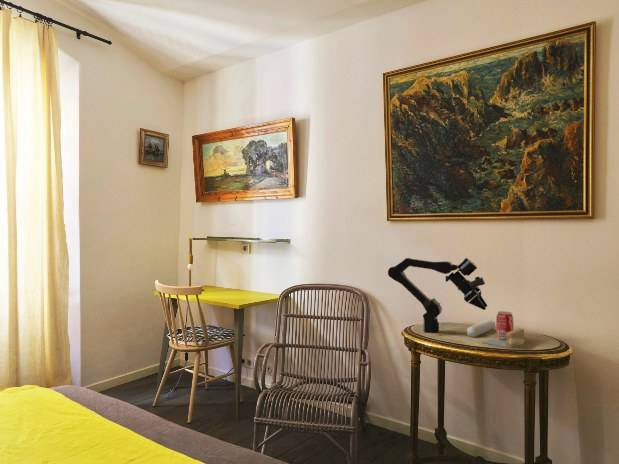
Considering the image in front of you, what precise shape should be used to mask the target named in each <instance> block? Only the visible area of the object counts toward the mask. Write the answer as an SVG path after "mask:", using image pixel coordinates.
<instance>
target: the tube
mask: <svg viewBox="0 0 619 464" xmlns="http://www.w3.org/2000/svg"><path fill="white" fill-rule="evenodd" d="M495 328H496V321H494V320H492V319H488V318H487V319H486V320H483V321H481V322H478V323H476V324H473V325H471V326H469V327H468V328H467V330H466V334H467V335H468V336H469V337H470V338H476V337H479V336H481V335H484V334H485V332H486V333H487V331H488V332H490V331H493V330H494V329H495ZM492 329H493V330H492ZM480 334H481V335H480ZM478 335H479V336H478Z"/></svg>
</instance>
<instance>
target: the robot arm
mask: <svg viewBox="0 0 619 464" xmlns="http://www.w3.org/2000/svg"><path fill="white" fill-rule="evenodd" d="M409 267H412V268H413V267H414V268H421V269H426V270H432V271H435V272H437V273H440V274H444V275H446V276H445V282H446V283H447V282H448V281H450V282H451V283H452V284H454V286H455V287H456V288H457V290H458V291H460V292H461V293H462V294H463V295H464V297H463V300H464V301H465V303H468V304H470V305H472V306H474V307H476V308H479V309H481V310H483V311H486V309H487V307H488V304H487V303H486V301H485V299H484V298H483V296H482V290H481V288H480V287H481V286H483V285H486V282H485V279H484V278H483V277H480V276H475V277H474V280H472V281H470V280H469V279H466V277H469V276H470V275H471V274H473V272H475V271H476V270H477V269H478V267H477V265H476V264H475V263H474V262H472V261H471V259H468V257H465V258H464V259H463V261H462V262H461V263H459V264H452V262H451V261H432V260H431V261H430V260H425V259H424V260H423V259H418V258H417V259H416V258H415V259H414V258H411V257H406V258H404V259H403V260H401V262H399V263H398V264H396V265H395V266H390V267H389V269H388V270H387V275H388V277H389V278H391V279H392V280H394V281H396V282H397V283H399V284H401V286H403V287H404V288H405V289H406V290H407V291H408V292H409V293H410V294H411V295H413V297H414V298H416V300H417V301H418V302H420V303H421V305H422V307H423V308H424V310H425V313H424V314H422V318H423V329H422V330H423V333H435V334H436V333H437V334H438V333H439V330H440V326H439V325H440V322H439V321H438V320H439V319H438V317H439V315H441V313H442V311H443V309H442V308H443V307H442V306H441V303H440V302H439V301H437V300H436V299H437V298H436V299H435V298H434V297H433V298H432V299H431V298H429V297H428V296H427V295H426V294H425V293H423V291H422V290H420V289H419V288H418V287H417V285H415V284H414V283H413V282H412V281H411V280H410V279H409V278H408V277H407V275H406V273H405V272H404V271H406V270H407V269H408V268H409ZM452 271H455V272H452ZM465 276H466V277H465ZM479 286H480V287H479Z"/></svg>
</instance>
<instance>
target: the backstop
mask: <svg viewBox="0 0 619 464" xmlns="http://www.w3.org/2000/svg"><path fill="white" fill-rule="evenodd" d="M505 341H506V348H508V349H513V348H515V347H517V346H520V345H523V344H524V343H525V329H524V328H517V329H513V331H511V332H508V333H506V340H505Z"/></svg>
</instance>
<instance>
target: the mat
mask: <svg viewBox="0 0 619 464" xmlns="http://www.w3.org/2000/svg"><path fill="white" fill-rule="evenodd" d="M482 344H484V345H490V346H494V347H500V348H507V347H506V340H501V339H495V338H491V339H488V340H485V341H482Z"/></svg>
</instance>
